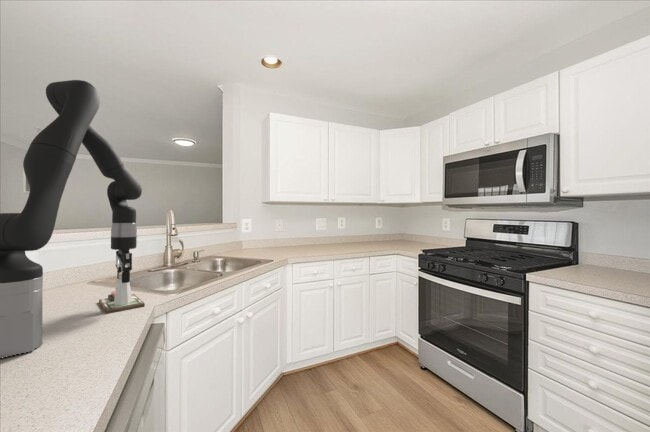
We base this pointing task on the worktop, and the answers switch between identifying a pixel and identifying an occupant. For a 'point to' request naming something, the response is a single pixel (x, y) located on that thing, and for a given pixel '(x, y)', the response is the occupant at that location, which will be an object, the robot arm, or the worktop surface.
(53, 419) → the worktop surface
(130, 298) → the pepper shaker
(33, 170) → the robot arm
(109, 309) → the metal control panel
